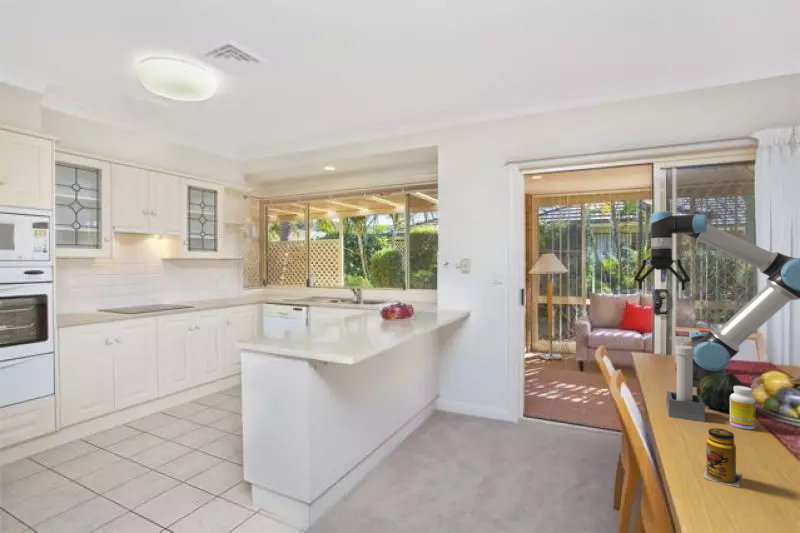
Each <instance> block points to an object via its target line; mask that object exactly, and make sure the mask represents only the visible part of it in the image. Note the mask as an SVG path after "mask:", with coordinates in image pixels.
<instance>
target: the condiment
mask: <svg viewBox="0 0 800 533" xmlns="http://www.w3.org/2000/svg"><path fill="white" fill-rule="evenodd" d="M705 453H706V465H705V468H704V472H703V476H702V477H703V479H706V480H708V481H709V480H710V481H713V482H716V483H720V484H723V485H728V486H733V487H737V488H740V484H741V473H740V472H737V447H736V444H735V435H734V433H733V432H731V431H729V430H728V429H724V428H719V427H718V428H717V427H713V428H709V429H708V435H707V439H706V452H705Z"/></svg>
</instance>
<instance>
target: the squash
mask: <svg viewBox="0 0 800 533" xmlns="http://www.w3.org/2000/svg"><path fill="white" fill-rule="evenodd" d="M734 386H744V387H746V386H745V385H744V383H743V382H742V381H741V380H740V379H739V378H738V377H737V376H736V375H735V374H734V373H732V372H731V371H725V372H721V373H717V374H712V375H708V376H706V377H704V378H703V379H702V380H701V381H700V382H699V384H698V385H697V387H696V391H695V392H696V395H700V396H701V398H702V400H703V402H704V404H705V407H707V408H713V409H716V410H719V409H720V410H722V411H726V412H728V413H730V395H731V394H733V393H734V390H733V389H734Z"/></svg>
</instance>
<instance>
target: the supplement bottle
mask: <svg viewBox="0 0 800 533" xmlns="http://www.w3.org/2000/svg"><path fill="white" fill-rule="evenodd" d="M744 386H745V385H744ZM744 386H734V389H733V390H734V393H733V394H731V395H730V412H729V424H730V425H731V426H733V427H734V428H738V429H742V430H749V431H750V430H754V429H755V428H756V399H755V397H754V396H753V395H752V393H753V391H752V388H750V387H748V386H745V387H744Z"/></svg>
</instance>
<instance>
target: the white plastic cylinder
mask: <svg viewBox="0 0 800 533" xmlns="http://www.w3.org/2000/svg"><path fill="white" fill-rule="evenodd" d="M674 332H676V331H675V330H674ZM676 333H677V332H676ZM678 334H679V333H678ZM679 335H680V334H679ZM680 336H681V335H680ZM681 338H682V336H681ZM682 339H683V338H682ZM683 342H684V340H683ZM675 353H676V354H677V370H676V393H677V400H682V401H690V402H692V396H693V395H694V393H693V389H694V388H693V387H694V386H693V355H694V348H693V347H690V346H685V343H684V346H683V345H679V346H676V351H675V350H674V354H675Z"/></svg>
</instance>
